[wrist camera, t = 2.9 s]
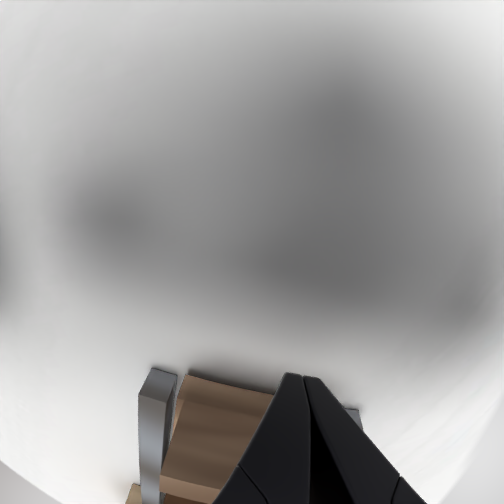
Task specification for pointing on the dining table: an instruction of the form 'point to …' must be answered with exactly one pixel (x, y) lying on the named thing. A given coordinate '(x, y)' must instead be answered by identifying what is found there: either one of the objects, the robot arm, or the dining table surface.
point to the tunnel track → (160, 434)
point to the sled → (208, 438)
